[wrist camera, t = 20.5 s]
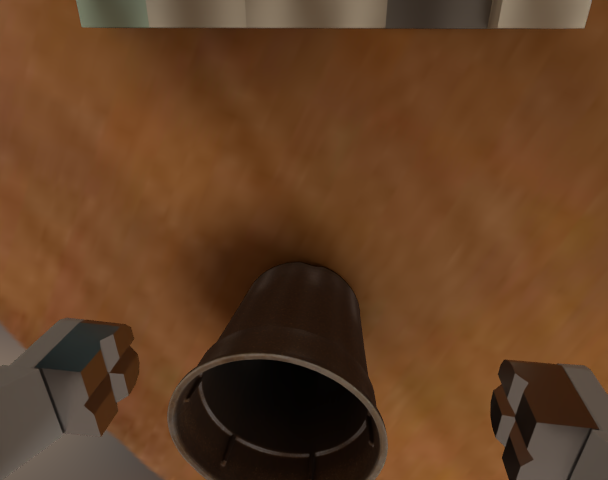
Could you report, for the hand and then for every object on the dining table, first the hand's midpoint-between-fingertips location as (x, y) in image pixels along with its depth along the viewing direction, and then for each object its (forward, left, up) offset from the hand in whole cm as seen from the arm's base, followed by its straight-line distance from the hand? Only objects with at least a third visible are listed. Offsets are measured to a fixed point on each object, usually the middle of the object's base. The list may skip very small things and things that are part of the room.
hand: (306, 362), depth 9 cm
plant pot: (+4, +20, -29) cm, 36 cm away
